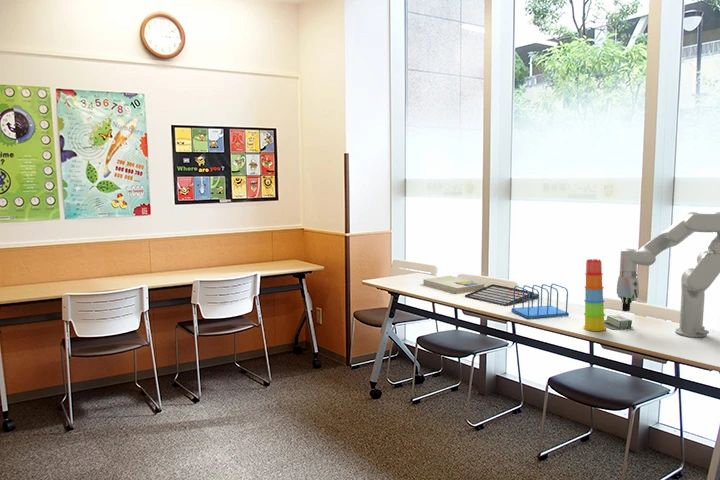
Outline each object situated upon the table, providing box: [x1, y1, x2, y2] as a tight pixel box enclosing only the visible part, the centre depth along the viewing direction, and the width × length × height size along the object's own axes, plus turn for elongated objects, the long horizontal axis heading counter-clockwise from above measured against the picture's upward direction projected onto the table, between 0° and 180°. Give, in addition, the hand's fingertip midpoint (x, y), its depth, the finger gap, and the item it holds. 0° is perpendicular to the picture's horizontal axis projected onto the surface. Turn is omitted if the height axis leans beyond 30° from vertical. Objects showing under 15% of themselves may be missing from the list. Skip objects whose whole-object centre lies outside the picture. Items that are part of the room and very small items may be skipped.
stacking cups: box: [582, 258, 607, 332], centre depth 282 cm, size 10×10×35 cm
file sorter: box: [510, 283, 570, 320], centre depth 315 cm, size 25×17×15 cm
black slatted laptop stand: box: [464, 283, 538, 307], centre depth 355 cm, size 32×7×31 cm
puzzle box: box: [423, 275, 485, 295], centre depth 388 cm, size 36×5×24 cm
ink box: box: [604, 314, 633, 329], centre depth 290 cm, size 7×4×13 cm
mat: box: [604, 322, 633, 331], centre depth 290 cm, size 13×12×1 cm
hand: (626, 310), depth 283 cm, fingers closed
